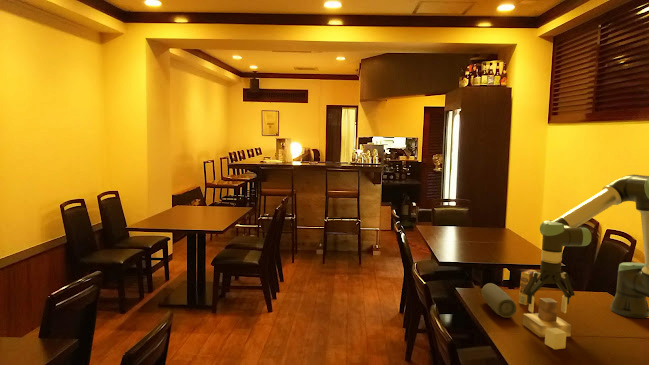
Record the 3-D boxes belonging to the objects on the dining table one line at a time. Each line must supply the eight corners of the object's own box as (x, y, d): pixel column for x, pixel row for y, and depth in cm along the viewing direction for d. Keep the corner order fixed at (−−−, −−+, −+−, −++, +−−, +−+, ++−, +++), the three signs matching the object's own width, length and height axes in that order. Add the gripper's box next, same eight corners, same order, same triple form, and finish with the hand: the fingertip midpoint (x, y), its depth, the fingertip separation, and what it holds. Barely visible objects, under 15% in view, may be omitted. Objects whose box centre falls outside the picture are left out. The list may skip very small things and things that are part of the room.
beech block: (551, 324, 204) (552, 313, 204) (570, 337, 192) (571, 325, 191) (522, 325, 203) (523, 313, 202) (539, 338, 190) (540, 325, 189)
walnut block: (549, 316, 200) (551, 298, 199) (556, 321, 195) (557, 302, 194) (538, 316, 199) (539, 298, 198) (544, 321, 194) (546, 302, 193)
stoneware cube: (555, 342, 185) (556, 327, 185) (565, 348, 180) (566, 332, 180) (544, 343, 184) (545, 328, 183) (554, 349, 179) (555, 334, 178)
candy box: (527, 305, 226) (529, 274, 224) (518, 303, 229) (520, 272, 227) (534, 301, 232) (537, 270, 230) (525, 299, 235) (528, 268, 233)
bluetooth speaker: (517, 321, 206) (518, 298, 205) (495, 320, 206) (496, 297, 205) (499, 302, 229) (500, 282, 228) (479, 302, 229) (480, 281, 228)
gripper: (576, 259, 198) (572, 308, 201) (516, 257, 198) (513, 307, 200) (586, 263, 191) (582, 315, 193) (524, 262, 190) (521, 314, 192)
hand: (547, 311), depth 196 cm, fingers open, 13 cm apart
